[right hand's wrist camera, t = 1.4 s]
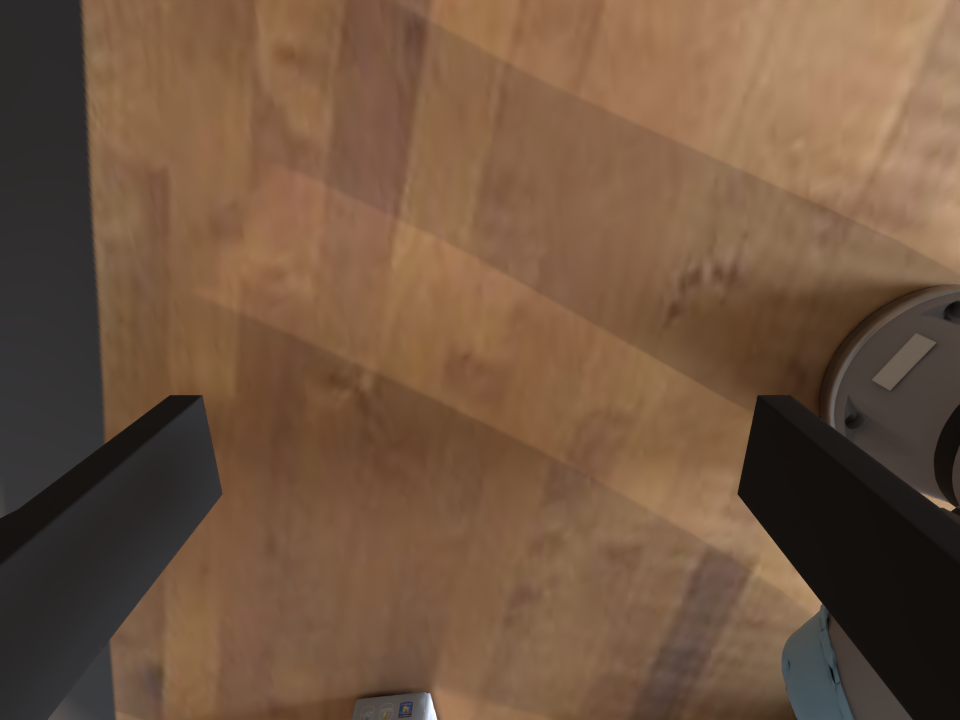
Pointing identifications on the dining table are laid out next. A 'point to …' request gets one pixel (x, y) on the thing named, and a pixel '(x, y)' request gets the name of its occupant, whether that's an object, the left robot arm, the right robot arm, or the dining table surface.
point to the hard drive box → (395, 707)
